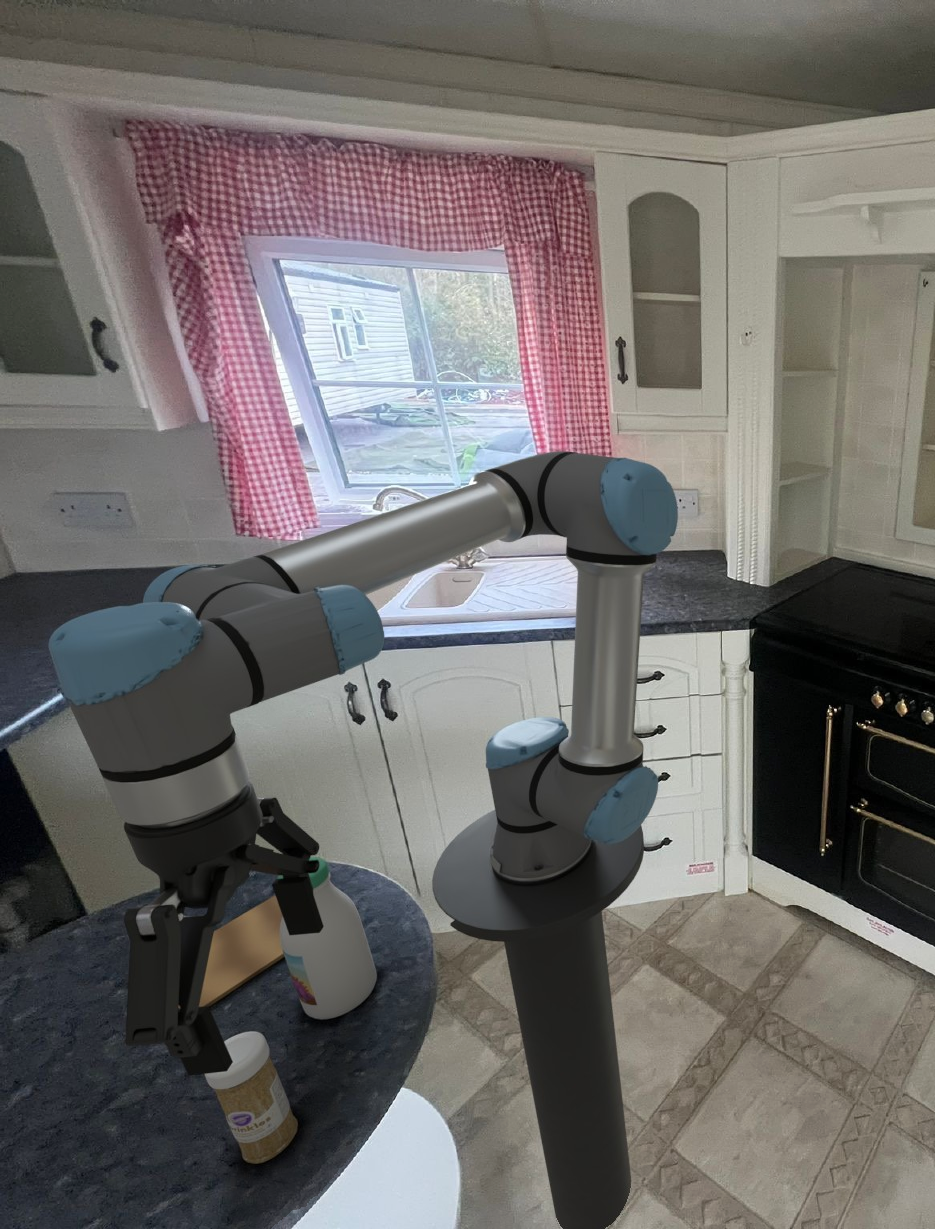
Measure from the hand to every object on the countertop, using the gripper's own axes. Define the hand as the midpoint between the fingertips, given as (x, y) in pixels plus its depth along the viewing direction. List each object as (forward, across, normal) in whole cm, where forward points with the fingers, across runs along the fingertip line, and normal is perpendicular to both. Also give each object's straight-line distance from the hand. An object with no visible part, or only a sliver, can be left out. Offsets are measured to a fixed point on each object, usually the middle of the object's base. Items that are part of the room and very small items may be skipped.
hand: (264, 992), depth 59 cm
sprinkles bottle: (+22, -1, -5) cm, 23 cm away
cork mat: (+22, -26, -23) cm, 41 cm away
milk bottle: (+22, -18, -7) cm, 29 cm away
